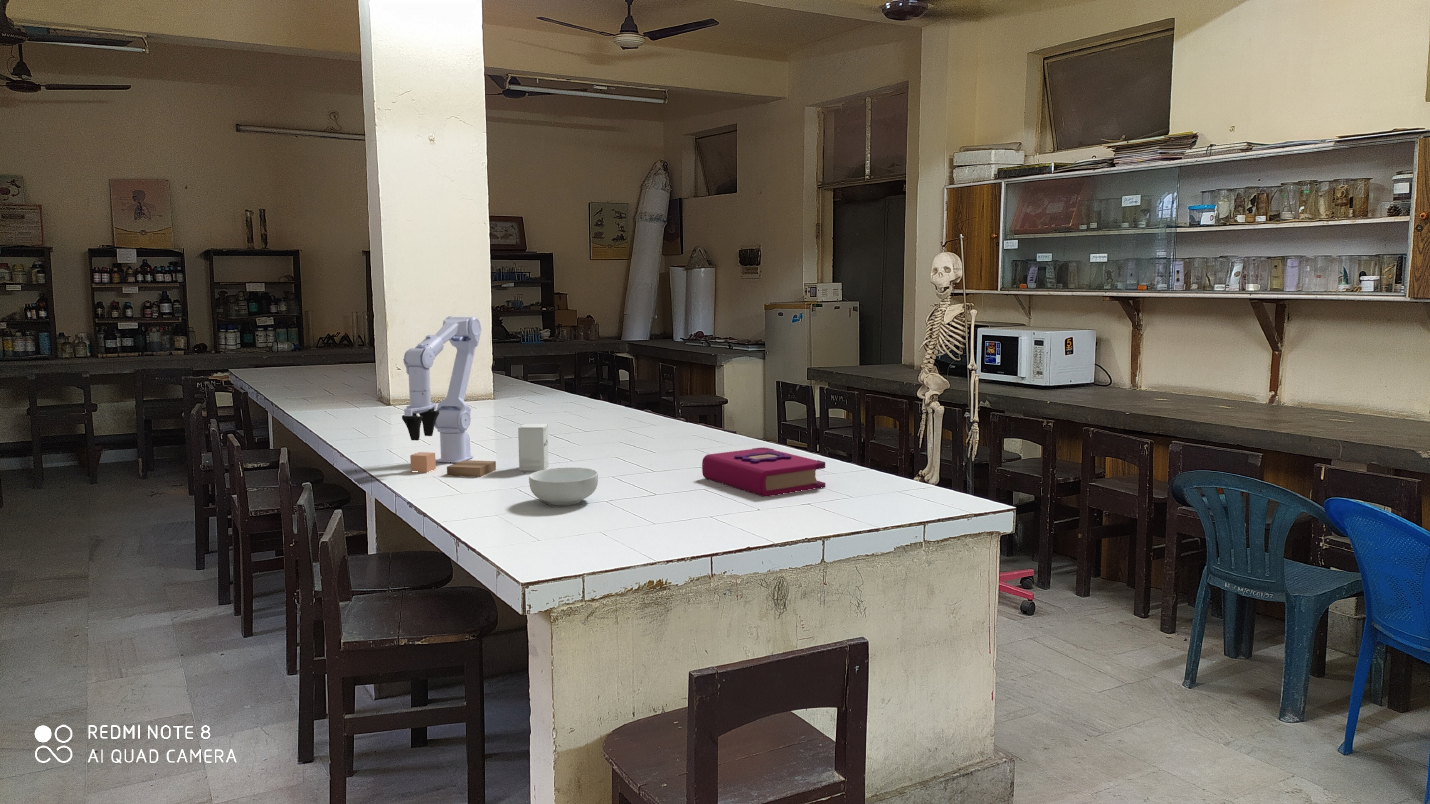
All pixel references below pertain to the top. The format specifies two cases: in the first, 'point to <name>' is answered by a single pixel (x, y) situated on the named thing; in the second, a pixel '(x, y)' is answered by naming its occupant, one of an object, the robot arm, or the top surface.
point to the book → (763, 471)
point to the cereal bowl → (563, 485)
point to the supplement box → (533, 447)
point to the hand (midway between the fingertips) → (421, 438)
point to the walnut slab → (471, 468)
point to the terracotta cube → (423, 462)
